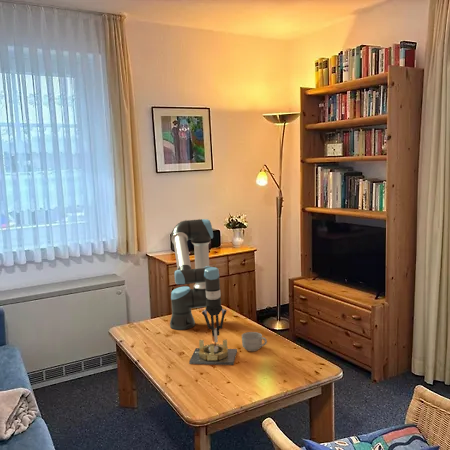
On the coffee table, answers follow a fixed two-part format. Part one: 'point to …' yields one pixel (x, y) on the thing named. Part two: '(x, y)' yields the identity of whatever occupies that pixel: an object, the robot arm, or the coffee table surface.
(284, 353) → the coffee table surface
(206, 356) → the ring nut
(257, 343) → the teacup
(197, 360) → the housing
